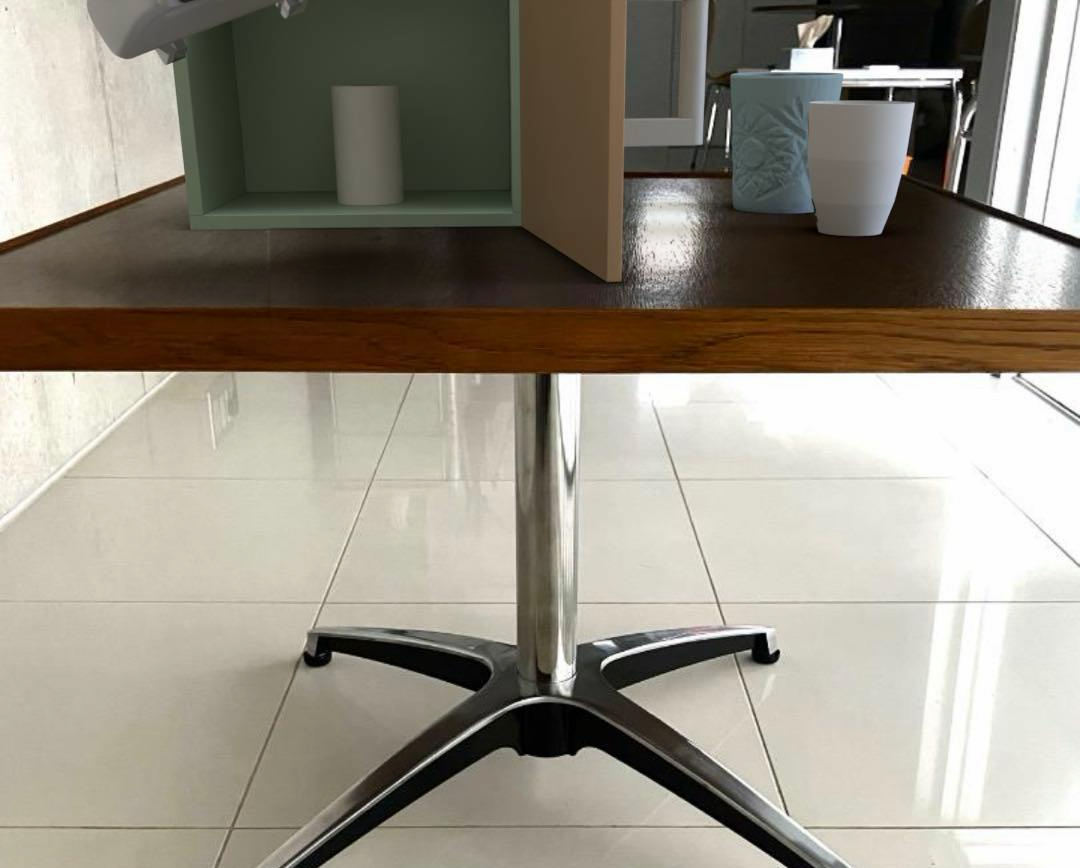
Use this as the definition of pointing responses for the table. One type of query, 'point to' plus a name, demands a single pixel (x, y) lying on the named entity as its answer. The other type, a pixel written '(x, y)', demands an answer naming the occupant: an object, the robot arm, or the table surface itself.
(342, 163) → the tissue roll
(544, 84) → the cupboard door
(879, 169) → the cup
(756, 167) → the embossed blue planter
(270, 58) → the cupboard
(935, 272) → the table surface
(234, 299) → the table surface
